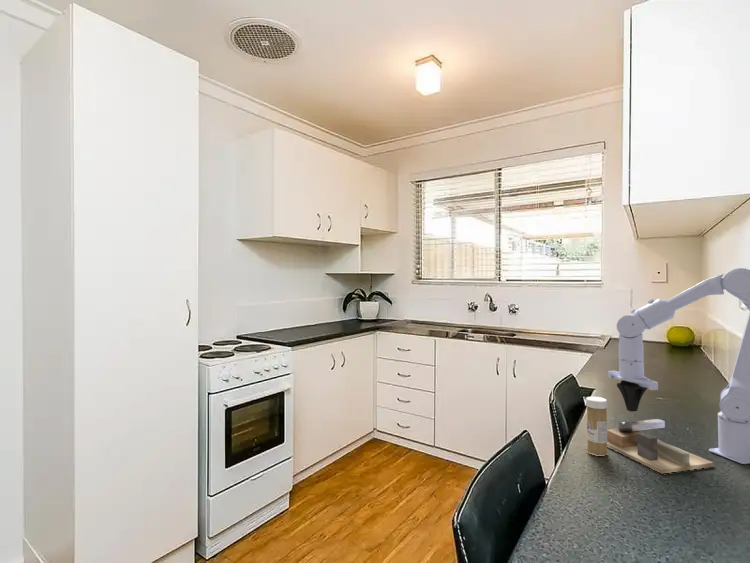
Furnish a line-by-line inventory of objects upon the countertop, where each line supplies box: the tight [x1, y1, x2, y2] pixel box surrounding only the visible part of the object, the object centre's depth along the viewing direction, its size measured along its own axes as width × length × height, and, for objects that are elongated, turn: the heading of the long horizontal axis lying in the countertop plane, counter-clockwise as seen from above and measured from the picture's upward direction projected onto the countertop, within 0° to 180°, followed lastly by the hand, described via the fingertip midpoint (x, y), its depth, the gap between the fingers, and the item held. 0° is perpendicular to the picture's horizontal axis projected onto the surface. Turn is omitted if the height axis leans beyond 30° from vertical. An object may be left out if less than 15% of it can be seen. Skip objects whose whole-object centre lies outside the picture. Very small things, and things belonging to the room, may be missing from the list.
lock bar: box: [618, 418, 666, 433], centre depth 108 cm, size 12×3×2 cm, turn 103°
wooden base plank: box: [607, 427, 715, 474], centre depth 102 cm, size 14×18×6 cm
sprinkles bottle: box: [585, 396, 609, 455], centre depth 103 cm, size 5×5×14 cm
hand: (632, 410), depth 114 cm, fingers closed
